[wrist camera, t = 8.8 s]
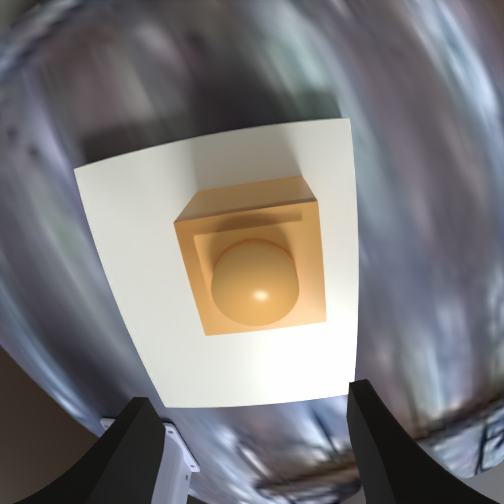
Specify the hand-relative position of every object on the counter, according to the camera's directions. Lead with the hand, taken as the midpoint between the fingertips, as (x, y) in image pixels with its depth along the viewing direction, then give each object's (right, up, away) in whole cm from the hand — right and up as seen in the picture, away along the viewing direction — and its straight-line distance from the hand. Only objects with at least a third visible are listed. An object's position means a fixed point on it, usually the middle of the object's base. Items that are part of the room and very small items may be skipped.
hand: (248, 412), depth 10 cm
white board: (-1, +3, +9) cm, 9 cm away
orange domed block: (0, +7, +6) cm, 9 cm away
